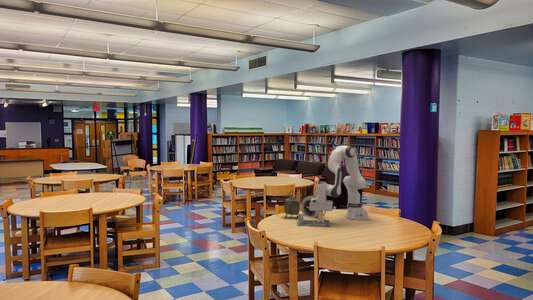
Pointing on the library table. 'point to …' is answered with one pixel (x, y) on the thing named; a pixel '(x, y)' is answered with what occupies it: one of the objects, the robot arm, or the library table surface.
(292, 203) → the tabletop clock
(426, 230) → the library table surface
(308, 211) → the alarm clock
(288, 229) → the library table surface
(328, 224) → the gauge bed
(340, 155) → the robot arm
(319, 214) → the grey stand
